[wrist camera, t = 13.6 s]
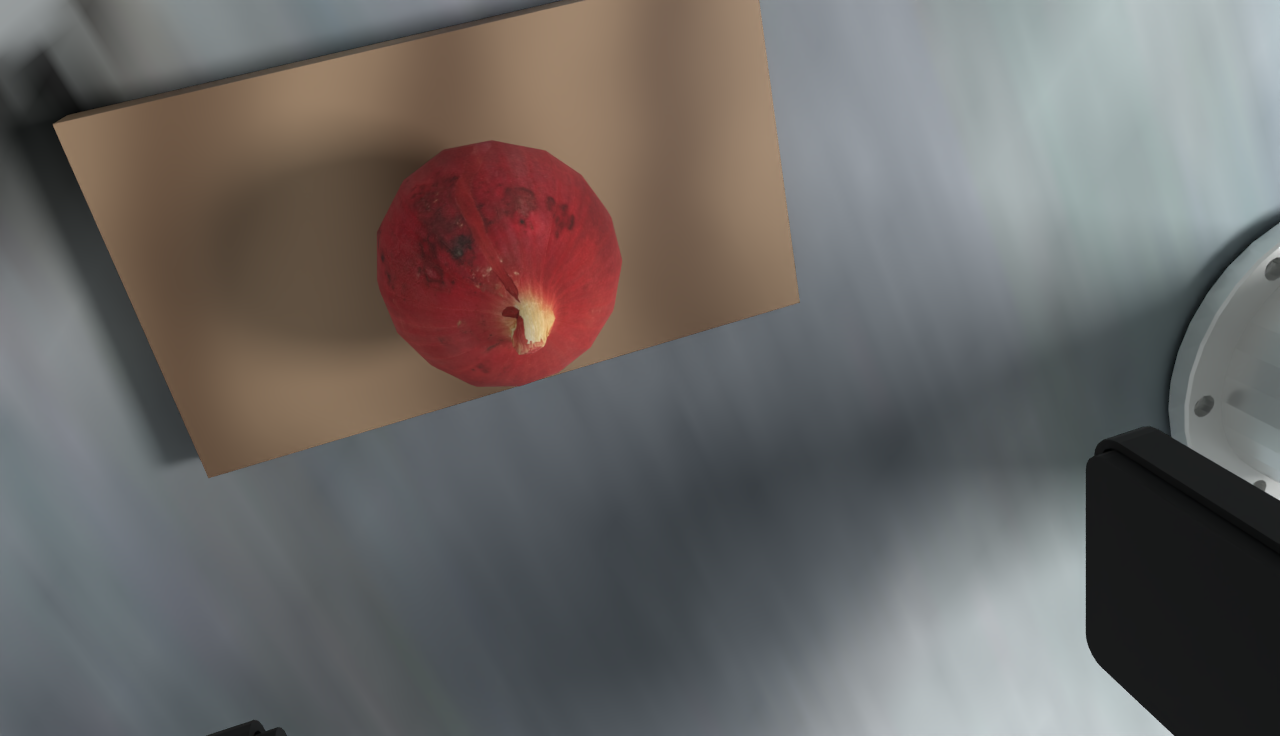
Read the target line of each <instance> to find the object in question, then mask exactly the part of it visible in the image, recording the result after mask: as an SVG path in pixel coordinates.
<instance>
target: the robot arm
mask: <svg viewBox="0 0 1280 736" xmlns="http://www.w3.org/2000/svg"><path fill="white" fill-rule="evenodd" d="M1168 411H1169V420H1170V429H1171V436H1172V437H1170V436H1169V435H1167V434H1165V433H1163V432H1162V431H1160V430H1158V429H1155V428H1153V427H1141V428H1138V429H1135V430H1132V431H1129V432H1126V433H1123V434H1120V435H1117V436H1114V437H1111V438H1108V439H1105V440H1103V441H1101V442H1100V443H1099V444H1098V445H1097V447H1096V449H1095V455H1094V456H1093V457H1092V458H1090V459H1089V460H1088V462H1087V466H1086V639H1087V643H1088V646H1089V649H1090V651H1091V653H1092V655H1093V657H1094V658H1095V660H1096V661H1097V663H1098V664H1099V665H1100V666H1101V667H1102V668H1103V669H1104V670H1105V671H1106V672H1107V673H1108V674H1109V675H1110V676H1111V677H1112V678H1113V679H1115V680H1116V681H1117V682H1118V683H1119V684H1120V685H1121V686H1122V687H1123V688H1124V689H1125V690H1126V691H1127V692H1128V693H1129V694H1130V695H1132V696H1133V697H1134V698H1135V699H1136V700H1137V701H1138V702H1139V703H1140V704H1141V705H1142V706H1143V707H1144V708H1145V709H1146V710H1147V711H1149V712H1150V713H1151V714H1152V715H1153V716H1154V717H1155V718H1156V719H1157V720H1158V721H1159V722H1160V723H1161V724H1162V725H1163V726H1164V727H1166V728H1167V729H1168V730H1169V731H1170V732H1171V733H1172V734H1173V735H1174V736H1280V223H1278V224H1277V225H1276V226H1274V227H1273V228H1272V229H1270V230H1269V231H1268V232H1266V233H1265V234H1263V235H1262V236H1261V237H1259V238H1258V239H1257V240H1255V241H1254V242H1253V243H1252V244H1251V245H1250V246H1249V247H1248V248H1247V249H1246V250H1245V251H1244V252H1243V253H1242V254H1240V255H1239V256H1238V257H1237V258H1236V259H1235V260H1234V261H1233V262H1232V263H1231V264H1230V265H1229V266H1228V267H1227V269H1226V270H1225V271H1224V273H1223V274H1222V275H1221V276H1220V278H1219V279H1218V280H1217V281H1216V283H1215V284H1214V285H1213V287H1212V288H1211V289H1210V290H1209V292H1208V293H1207V295H1206V296H1205V298H1204V300H1203V301H1202V303H1201V305H1200V307H1199V308H1198V310H1197V312H1196V313H1195V315H1194V317H1193V319H1192V320H1191V322H1190V324H1189V327H1188V329H1187V332H1186V334H1185V336H1184V339H1183V341H1182V344H1181V346H1180V348H1179V351H1178V354H1177V358H1176V362H1175V366H1174V370H1173V374H1172V378H1171V384H1170V396H1169V408H1168ZM207 736H287V735H286V733H285V731H284V730H283V729H282V728H280V727H278V728H274V729H271V730H268V731H265V729H264V727H263V726H262V724H261V723H260V722H259V721H257V720H252V721H249V722H246V723H243V724H240V725H237V726H234V727H231V728H228V729H225V730H222V731H219V732H216V733H213V734H210V735H207Z"/></svg>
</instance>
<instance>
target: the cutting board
mask: <svg viewBox="0 0 1280 736" xmlns="http://www.w3.org/2000/svg"><path fill="white" fill-rule="evenodd" d="M53 127H54V129H55V131H56V133H57V136H58V138H59V140H60V142H61V145H62V147H63V149H64V152H65V154H66V156H67V158H68V161H69V163H70V165H71V167H72V170H73V172H74V174H75V176H76V179H77V181H78V183H79V186H80V188H81V190H82V192H83V195H84V197H85V199H86V201H87V204H88V206H89V208H90V210H91V213H92V215H93V217H94V220H95V222H96V224H97V226H98V229H99V231H100V233H101V235H102V238H103V240H104V242H105V244H106V247H107V249H108V251H109V253H110V256H111V258H112V260H113V263H114V265H115V267H116V269H117V272H118V274H119V276H120V278H121V281H122V283H123V285H124V287H125V290H126V292H127V294H128V297H129V299H130V301H131V303H132V306H133V308H134V310H135V312H136V315H137V317H138V319H139V321H140V324H141V326H142V328H143V331H144V333H145V335H146V337H147V340H148V342H149V344H150V346H151V349H152V351H153V353H154V355H155V358H156V360H157V362H158V365H159V367H160V369H161V371H162V374H163V376H164V378H165V380H166V383H167V385H168V387H169V389H170V392H171V394H172V396H173V399H174V401H175V403H176V405H177V408H178V410H179V412H180V414H181V417H182V419H183V421H184V423H185V426H186V428H187V430H188V433H189V435H190V437H191V439H192V442H193V444H194V446H195V448H196V451H197V453H198V455H199V457H200V460H201V462H202V464H203V467H204V469H205V471H206V473H207V476H208V478H211V477H214V476H218V475H221V474H224V473H228V472H231V471H234V470H238V469H241V468H244V467H248V466H251V465H255V464H258V463H261V462H265V461H268V460H271V459H275V458H278V457H281V456H285V455H288V454H292V453H295V452H298V451H302V450H305V449H308V448H312V447H315V446H318V445H322V444H325V443H329V442H332V441H335V440H339V439H342V438H345V437H349V436H352V435H355V434H359V433H362V432H366V431H369V430H372V429H376V428H379V427H382V426H386V425H389V424H392V423H396V422H399V421H403V420H406V419H409V418H413V417H416V416H419V415H423V414H426V413H429V412H433V411H436V410H440V409H443V408H446V407H450V406H453V405H456V404H460V403H463V402H466V401H470V400H473V399H477V398H480V397H483V396H487V395H490V394H493V393H497V392H500V391H503V390H507V389H510V388H514V387H517V386H502V387H476V386H473V385H470V384H468V383H466V382H464V381H462V380H460V379H458V378H456V377H454V376H452V375H450V374H448V373H446V372H444V371H442V370H439V369H437V368H435V367H434V366H432V365H430V364H429V363H428V362H427V361H426V360H425V359H424V358H423V357H422V356H421V355H420V354H419V353H418V352H417V351H416V350H415V349H414V348H413V347H412V346H410V345H409V344H408V343H407V342H406V341H405V340H404V339H403V338H402V337H401V336H400V335H399V334H398V333H397V331H396V328H395V326H394V324H393V321H392V319H391V316H390V314H389V312H388V309H387V307H386V304H385V302H384V300H383V297H382V295H381V292H380V290H379V286H378V282H377V231H378V229H379V227H380V225H381V223H382V221H383V219H384V217H385V215H386V213H387V211H388V209H389V207H390V205H391V203H392V201H393V199H394V197H395V195H396V194H397V192H398V190H399V188H400V186H401V184H402V182H403V180H404V179H406V178H407V177H408V176H409V175H411V174H412V173H413V172H415V171H416V170H417V169H419V168H420V167H421V166H423V165H424V164H425V163H427V162H428V161H429V160H430V159H432V158H433V157H434V156H436V155H437V154H438V153H440V152H441V151H442V150H444V149H449V148H454V147H459V146H464V145H470V144H475V143H480V142H485V141H490V140H494V141H499V142H504V143H509V144H514V145H520V146H525V147H530V148H536V149H541V150H546V151H547V152H549V153H550V154H552V155H553V156H554V157H556V158H557V159H559V160H560V161H562V162H563V163H565V164H566V165H568V166H569V167H571V168H572V169H574V170H575V171H577V172H578V173H579V174H581V175H582V176H583V177H584V179H585V180H586V182H587V183H588V184H589V186H590V187H591V188H592V190H593V191H594V193H595V194H596V195H597V197H598V198H599V199H600V201H601V202H602V203H603V205H604V206H605V208H606V209H607V211H608V212H609V214H610V216H611V218H612V221H613V225H614V229H615V233H616V237H617V241H618V245H619V249H620V253H621V257H622V265H621V271H620V277H619V282H618V288H617V294H616V299H615V305H614V309H613V312H612V313H611V315H610V317H609V318H608V320H607V321H606V323H605V325H604V326H603V328H602V330H601V331H600V333H599V334H598V336H597V338H596V339H595V341H594V343H593V344H592V346H591V347H590V348H589V349H588V350H587V351H585V352H584V353H583V354H582V355H580V356H579V357H578V358H576V359H575V360H574V361H573V362H571V363H570V364H569V365H568V366H566V367H565V368H564V369H562V370H561V371H560V372H559V373H556V374H553V375H550V376H548V377H551V376H554V375H557V374H561V373H564V372H567V371H571V370H574V369H577V368H581V367H584V366H588V365H591V364H594V363H598V362H601V361H604V360H608V359H611V358H614V357H618V356H621V355H625V354H628V353H631V352H635V351H638V350H641V349H645V348H648V347H651V346H655V345H658V344H662V343H665V342H668V341H672V340H675V339H678V338H682V337H685V336H688V335H692V334H695V333H699V332H702V331H705V330H709V329H712V328H715V327H719V326H722V325H725V324H729V323H732V322H736V321H739V320H742V319H746V318H749V317H752V316H756V315H759V314H763V313H766V312H769V311H773V310H776V309H779V308H783V307H786V306H789V305H793V304H796V303H800V300H799V293H798V286H797V278H796V271H795V263H794V256H793V249H792V241H791V234H790V226H789V219H788V211H787V204H786V197H785V189H784V182H783V174H782V167H781V160H780V152H779V145H778V137H777V130H776V122H775V115H774V108H773V100H772V93H771V85H770V78H769V71H768V63H767V56H766V48H765V41H764V33H763V26H762V19H761V11H760V4H759V0H562V1H558V2H553V3H549V4H545V5H540V6H536V7H532V8H527V9H523V10H519V11H515V12H510V13H506V14H502V15H497V16H493V17H489V18H484V19H480V20H476V21H471V22H467V23H463V24H458V25H454V26H450V27H446V28H441V29H437V30H433V31H428V32H424V33H420V34H415V35H411V36H407V37H402V38H398V39H394V40H389V41H385V42H381V43H377V44H372V45H368V46H364V47H359V48H355V49H351V50H346V51H342V52H338V53H333V54H329V55H325V56H320V57H316V58H312V59H308V60H303V61H299V62H295V63H290V64H286V65H282V66H277V67H273V68H269V69H264V70H260V71H256V72H252V73H247V74H243V75H239V76H234V77H230V78H226V79H221V80H217V81H213V82H208V83H204V84H200V85H195V86H191V87H187V88H183V89H178V90H174V91H170V92H165V93H161V94H157V95H152V96H148V97H144V98H139V99H135V100H131V101H126V102H122V103H118V104H114V105H109V106H105V107H101V108H96V109H92V110H88V111H83V112H79V113H75V114H70V115H67V116H65V117H64V118H62V119H60V120H59V121H57V122H56V123H54V124H53ZM545 378H547V377H545ZM542 379H544V378H542ZM539 380H540V379H539ZM536 381H537V380H536Z"/></svg>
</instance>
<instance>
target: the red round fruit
mask: <svg viewBox="0 0 1280 736" xmlns="http://www.w3.org/2000/svg"><path fill="white" fill-rule="evenodd" d="M621 265H622V257H621V253H620V249H619V245H618V241H617V237H616V233H615V229H614V225H613V221H612V218H611V216H610V214H609V212H608V211H607V209H606V208H605V206H604V205H603V203H602V202H601V201H600V199H599V198H598V197H597V195H596V194H595V193H594V191H593V190H592V188H591V187H590V186H589V184H588V183H587V182H586V180H585V179H584V177H583V176H582V175H581V174H579V173H578V172H577V171H575V170H574V169H572V168H571V167H569V166H568V165H566V164H565V163H563V162H562V161H560V160H559V159H557V158H556V157H554V156H553V155H552V154H550V153H549V152H547V151H546V150H541V149H536V148H530V147H525V146H520V145H514V144H509V143H504V142H499V141H494V140H490V141H485V142H480V143H475V144H470V145H464V146H459V147H454V148H449V149H444V150H442V151H441V152H440V153H438V154H437V155H436V156H434V157H433V158H432V159H430V160H429V161H428V162H427V163H425V164H424V165H423V166H421V167H420V168H419V169H417V170H416V171H415V172H413V173H412V174H411V175H409V176H408V177H407V178H406V179H404V180H403V182H402V184H401V186H400V188H399V190H398V192H397V194H396V195H395V197H394V199H393V201H392V203H391V205H390V207H389V209H388V211H387V213H386V215H385V217H384V219H383V221H382V223H381V225H380V227H379V229H378V231H377V282H378V286H379V290H380V292H381V295H382V297H383V300H384V302H385V304H386V307H387V309H388V312H389V314H390V316H391V319H392V321H393V324H394V326H395V328H396V331H397V333H398V334H399V335H400V336H401V337H402V338H403V339H404V340H405V341H406V342H407V343H408V344H409V345H410V346H412V347H413V348H414V349H415V350H416V351H417V352H418V353H419V354H420V355H421V356H422V357H423V358H424V359H425V360H426V361H427V362H428V363H429V364H430V365H432V366H434V367H435V368H437V369H439V370H442V371H444V372H446V373H448V374H450V375H452V376H454V377H456V378H458V379H460V380H462V381H464V382H466V383H468V384H470V385H473V386H476V387H502V386H522V385H525V384H528V383H531V382H534V381H536V380H539V379H542V378H545V377H548V376H550V375H553V374H556V373H559V372H560V371H561V370H562V369H564V368H565V367H566V366H568V365H569V364H570V363H571V362H573V361H574V360H575V359H576V358H578V357H579V356H580V355H582V354H583V353H584V352H585V351H587V350H588V349H589V348H590V347H591V346H592V344H593V343H594V341H595V339H596V338H597V336H598V334H599V333H600V331H601V330H602V328H603V326H604V325H605V323H606V321H607V320H608V318H609V317H610V315H611V313H612V312H613V309H614V305H615V299H616V294H617V288H618V282H619V277H620V271H621Z"/></svg>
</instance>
